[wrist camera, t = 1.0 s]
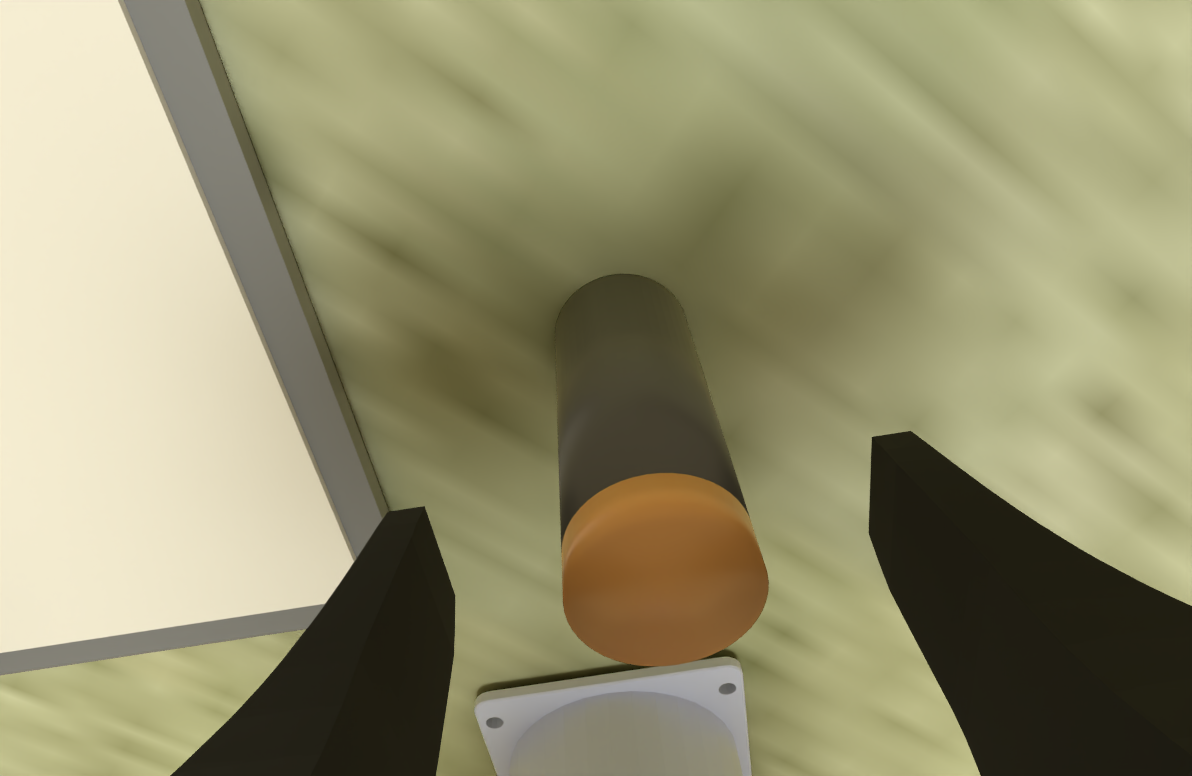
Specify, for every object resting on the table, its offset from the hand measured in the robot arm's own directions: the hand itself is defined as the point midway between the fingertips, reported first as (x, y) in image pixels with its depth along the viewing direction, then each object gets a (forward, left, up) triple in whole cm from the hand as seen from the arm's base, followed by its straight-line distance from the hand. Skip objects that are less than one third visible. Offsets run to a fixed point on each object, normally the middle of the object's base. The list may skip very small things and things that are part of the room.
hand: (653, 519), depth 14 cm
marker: (0, 0, -6) cm, 6 cm away
